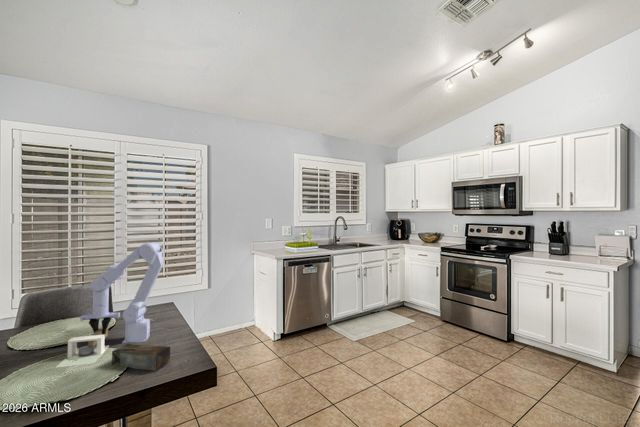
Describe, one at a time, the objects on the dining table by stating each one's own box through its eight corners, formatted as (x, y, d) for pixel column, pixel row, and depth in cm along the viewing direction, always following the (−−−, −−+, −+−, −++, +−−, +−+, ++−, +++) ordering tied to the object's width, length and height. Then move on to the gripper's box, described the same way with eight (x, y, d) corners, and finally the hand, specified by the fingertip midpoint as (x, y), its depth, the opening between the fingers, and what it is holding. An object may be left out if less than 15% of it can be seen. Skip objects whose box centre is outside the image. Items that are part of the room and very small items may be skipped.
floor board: (109, 346, 132) (110, 345, 132) (94, 364, 116) (94, 363, 116) (76, 349, 128) (76, 348, 129) (55, 369, 112) (55, 367, 112)
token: (96, 350, 127) (96, 344, 127) (91, 355, 122) (91, 349, 122) (81, 351, 125) (81, 345, 125) (76, 357, 120) (76, 351, 121)
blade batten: (107, 335, 143) (108, 325, 143) (93, 348, 128) (94, 337, 128) (102, 335, 143) (102, 325, 143) (87, 349, 127) (88, 338, 128)
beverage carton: (127, 357, 122) (127, 341, 122) (171, 362, 119) (171, 345, 119) (110, 367, 114) (111, 349, 115) (157, 372, 111) (157, 353, 111)
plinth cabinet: (104, 351, 127) (104, 334, 127) (100, 355, 123) (101, 338, 123) (72, 354, 124) (72, 337, 124) (67, 359, 120) (67, 341, 120)
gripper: (122, 300, 144) (121, 330, 143) (85, 303, 139) (84, 333, 139) (117, 305, 137) (116, 336, 137) (78, 307, 133) (77, 339, 132)
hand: (100, 335), depth 137 cm, fingers closed on blade batten, 2 cm apart
